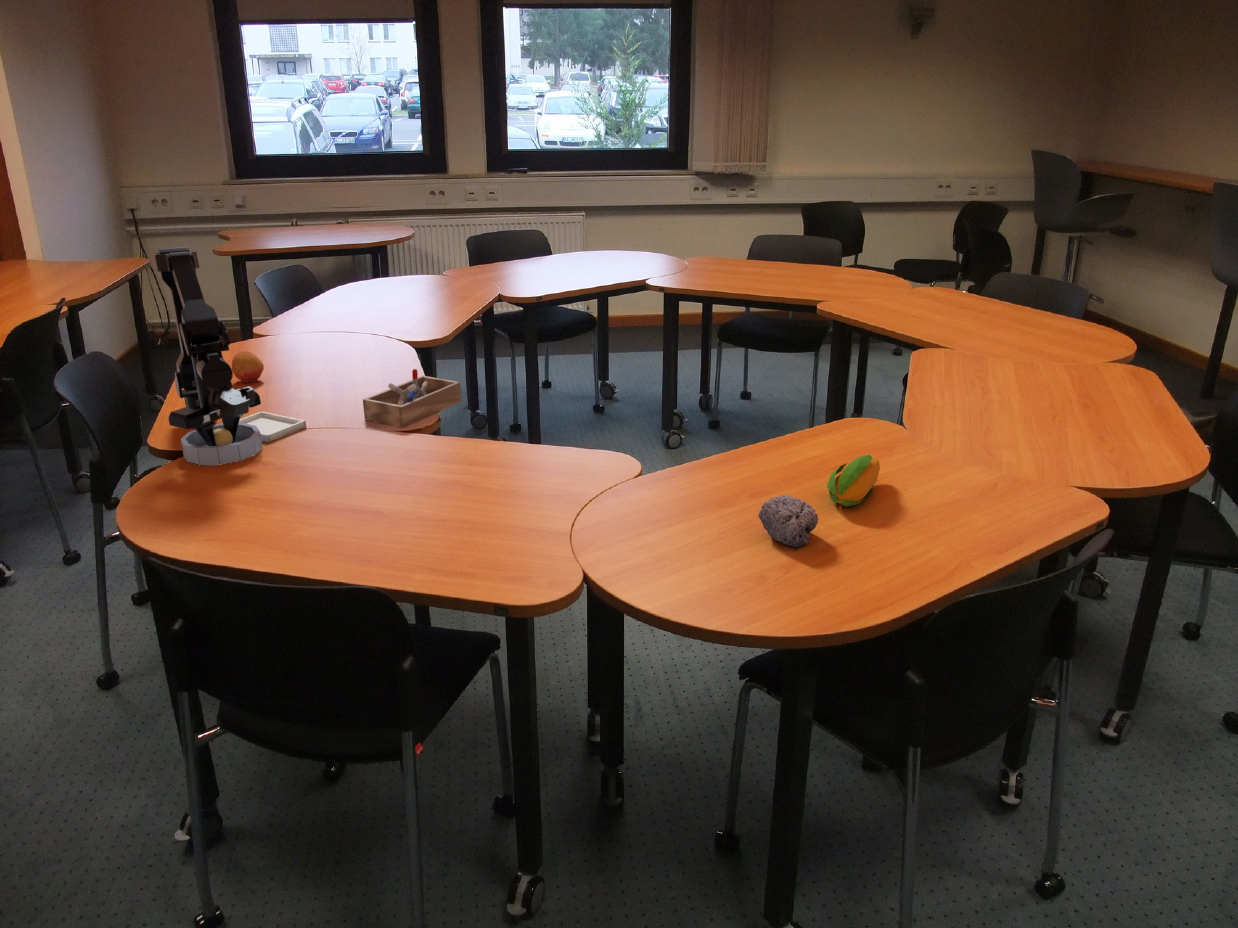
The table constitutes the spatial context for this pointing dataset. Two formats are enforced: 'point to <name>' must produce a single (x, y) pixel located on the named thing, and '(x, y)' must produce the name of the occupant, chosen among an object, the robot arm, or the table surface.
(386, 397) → the wooden box
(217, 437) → the ball
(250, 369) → the fruit
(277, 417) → the tray
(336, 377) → the table surface
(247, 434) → the bowl
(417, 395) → the molecular model
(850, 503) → the corn
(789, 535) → the pumice stone
